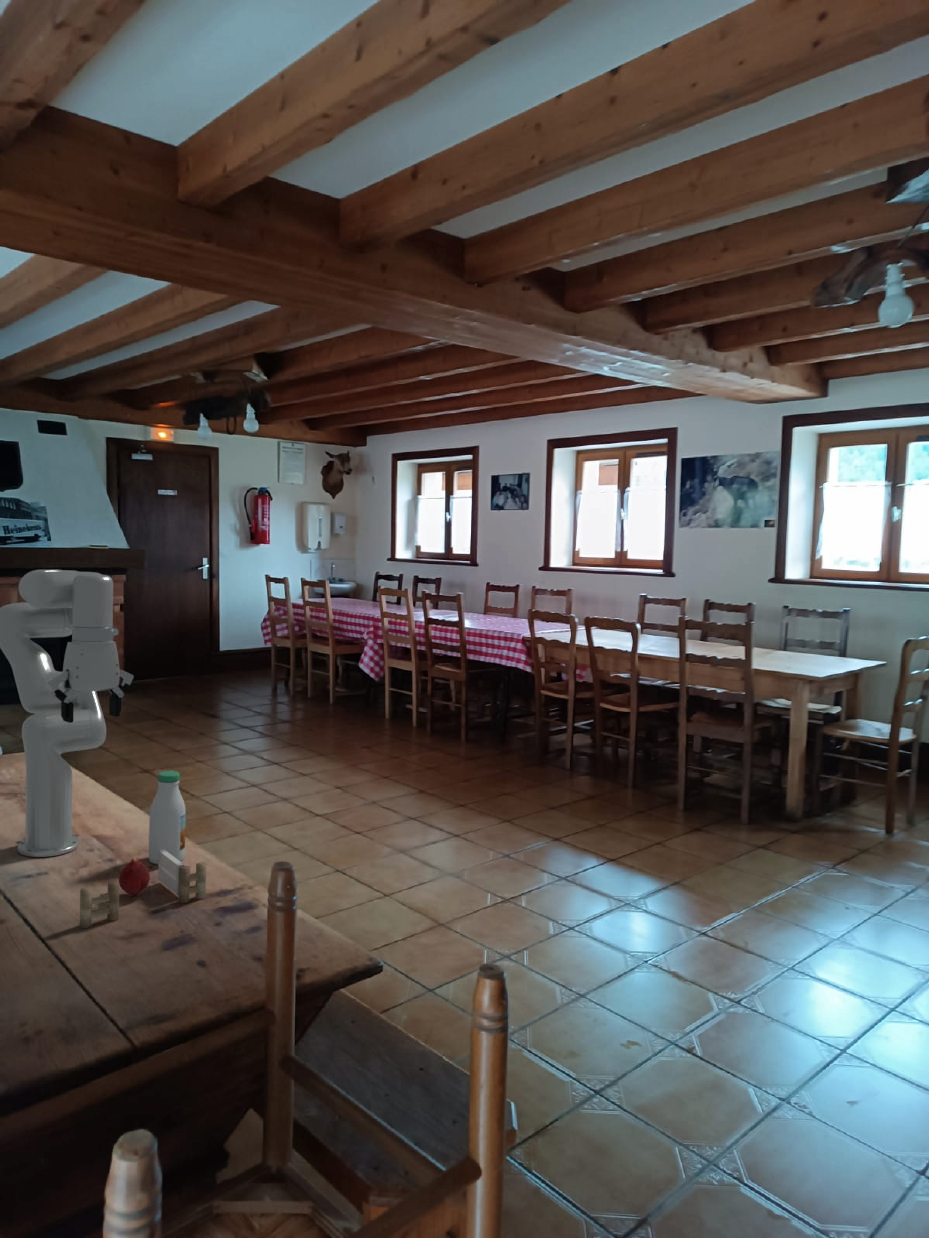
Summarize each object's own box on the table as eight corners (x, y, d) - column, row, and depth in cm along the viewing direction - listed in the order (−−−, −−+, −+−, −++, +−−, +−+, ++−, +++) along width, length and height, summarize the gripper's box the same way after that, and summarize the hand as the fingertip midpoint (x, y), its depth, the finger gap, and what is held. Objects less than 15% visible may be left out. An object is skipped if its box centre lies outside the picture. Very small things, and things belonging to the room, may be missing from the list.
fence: (78, 924, 159) (78, 888, 158) (202, 894, 175) (203, 861, 175) (81, 928, 157) (82, 892, 157) (207, 897, 174) (208, 864, 173)
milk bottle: (173, 867, 188) (175, 779, 186) (141, 863, 189) (143, 775, 188) (190, 855, 195) (193, 770, 194) (160, 851, 197) (162, 766, 195)
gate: (183, 894, 173) (184, 864, 172) (177, 895, 172) (178, 865, 172) (163, 877, 180) (164, 849, 180) (158, 879, 179) (158, 850, 179)
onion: (155, 893, 174) (156, 855, 174) (135, 903, 169) (136, 864, 168) (132, 887, 176) (132, 850, 176) (112, 898, 171) (112, 859, 170)
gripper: (123, 631, 181) (122, 711, 183) (40, 635, 168) (40, 720, 169) (142, 635, 177) (140, 716, 178) (57, 639, 163) (57, 727, 165)
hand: (91, 718), depth 174 cm, fingers open, 9 cm apart
